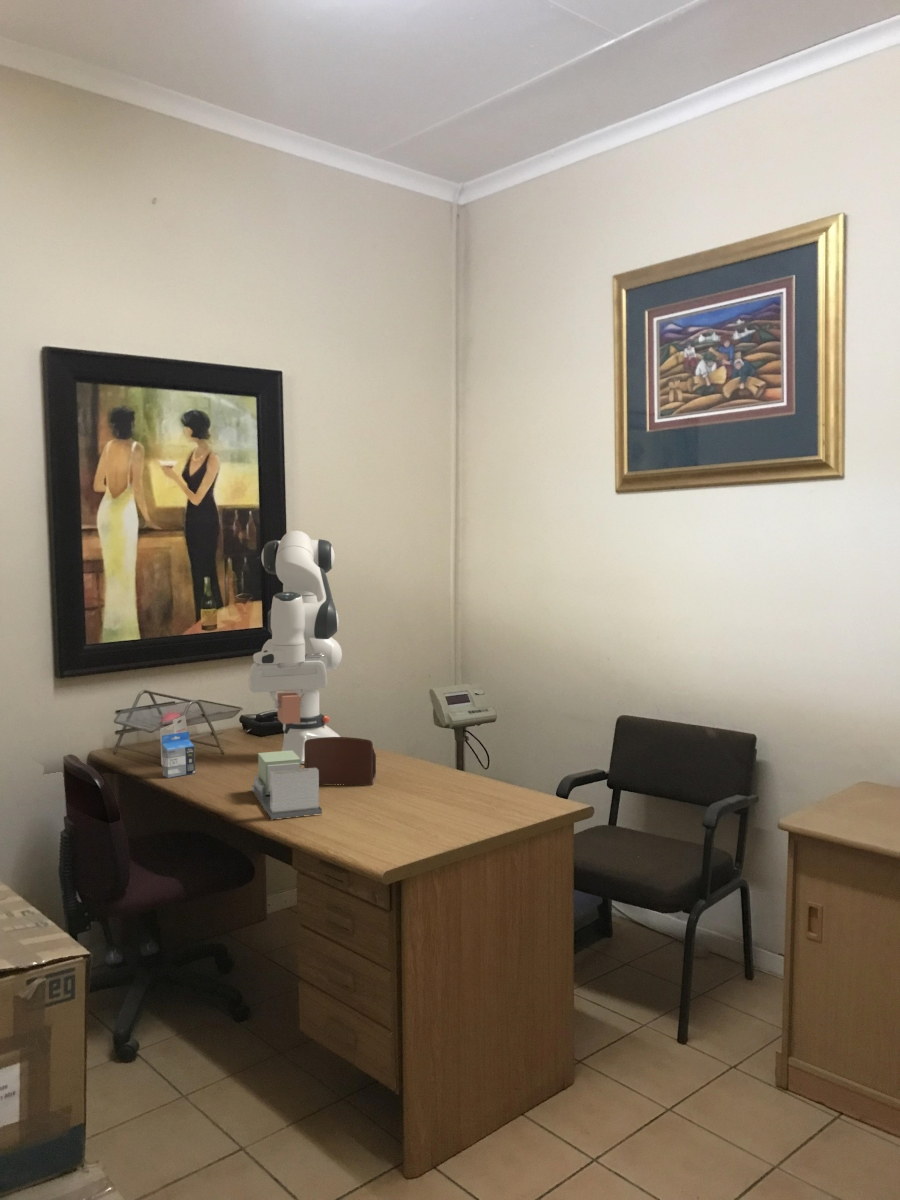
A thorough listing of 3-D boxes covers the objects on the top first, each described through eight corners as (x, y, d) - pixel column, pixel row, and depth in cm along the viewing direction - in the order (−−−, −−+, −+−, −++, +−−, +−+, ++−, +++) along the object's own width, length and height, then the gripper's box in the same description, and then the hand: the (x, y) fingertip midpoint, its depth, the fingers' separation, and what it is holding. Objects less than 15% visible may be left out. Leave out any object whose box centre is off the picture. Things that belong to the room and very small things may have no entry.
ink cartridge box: (173, 759, 301) (172, 713, 300) (188, 760, 300) (187, 714, 299) (160, 765, 292) (159, 719, 291) (174, 766, 291) (174, 719, 290)
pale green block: (258, 784, 265) (258, 753, 264) (292, 781, 268) (292, 750, 268) (266, 795, 254) (265, 762, 253) (301, 792, 258) (301, 759, 257)
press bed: (251, 790, 265) (251, 750, 264) (297, 786, 270) (297, 746, 269) (271, 820, 238) (270, 775, 237) (321, 814, 243) (321, 771, 242)
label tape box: (167, 778, 278) (167, 737, 277) (161, 775, 281) (161, 735, 280) (195, 773, 283) (195, 733, 283) (189, 770, 286) (188, 731, 286)
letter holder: (372, 786, 271) (372, 738, 270) (303, 785, 271) (303, 737, 270) (376, 777, 281) (376, 730, 280) (309, 776, 281) (309, 729, 280)
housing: (294, 717, 251) (294, 691, 251) (300, 722, 245) (299, 696, 244) (277, 718, 250) (277, 692, 249) (282, 724, 243) (282, 697, 243)
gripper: (324, 651, 253) (324, 702, 254) (247, 654, 245) (247, 707, 246) (330, 654, 247) (330, 706, 248) (251, 658, 239) (251, 711, 240)
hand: (288, 707), depth 247 cm, fingers closed on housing, 4 cm apart
